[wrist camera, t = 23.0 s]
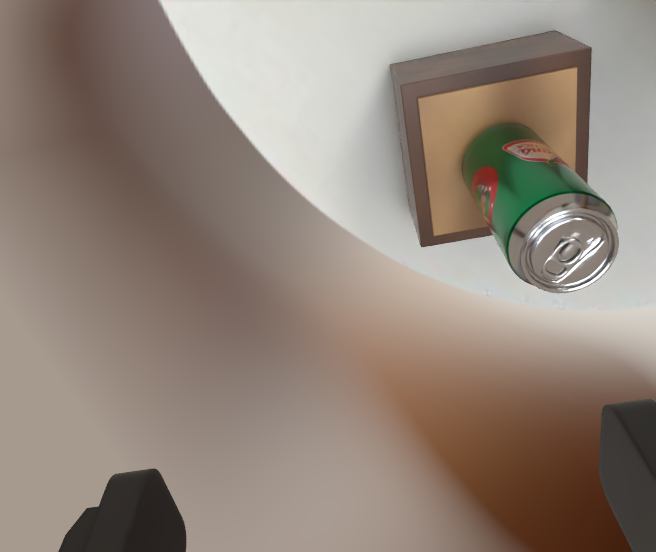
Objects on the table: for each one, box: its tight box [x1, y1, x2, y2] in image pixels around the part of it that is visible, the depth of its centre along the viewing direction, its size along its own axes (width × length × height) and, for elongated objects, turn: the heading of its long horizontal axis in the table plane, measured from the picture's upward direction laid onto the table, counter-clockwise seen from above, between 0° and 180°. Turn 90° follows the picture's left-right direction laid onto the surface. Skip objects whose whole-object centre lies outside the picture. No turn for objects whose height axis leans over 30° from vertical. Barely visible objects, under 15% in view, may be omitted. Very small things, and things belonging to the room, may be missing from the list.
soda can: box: [462, 123, 619, 293], centre depth 32 cm, size 5×5×12 cm
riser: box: [390, 31, 591, 247], centre depth 39 cm, size 11×11×6 cm
